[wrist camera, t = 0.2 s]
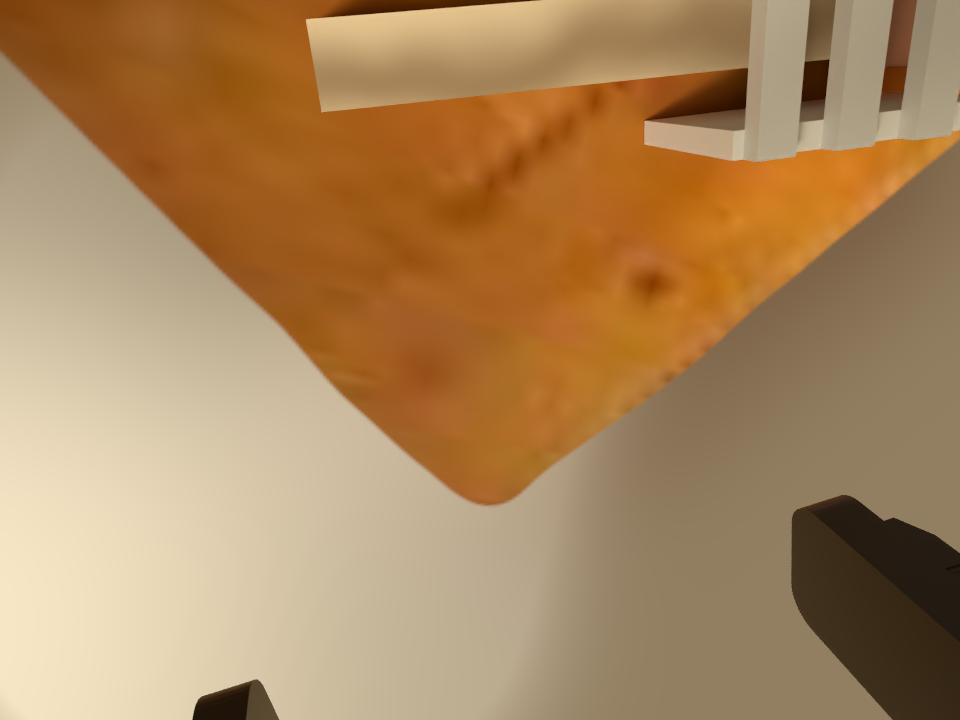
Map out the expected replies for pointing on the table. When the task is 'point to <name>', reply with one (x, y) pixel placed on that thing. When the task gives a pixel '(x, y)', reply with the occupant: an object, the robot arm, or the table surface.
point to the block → (900, 33)
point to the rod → (532, 47)
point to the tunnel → (830, 86)
